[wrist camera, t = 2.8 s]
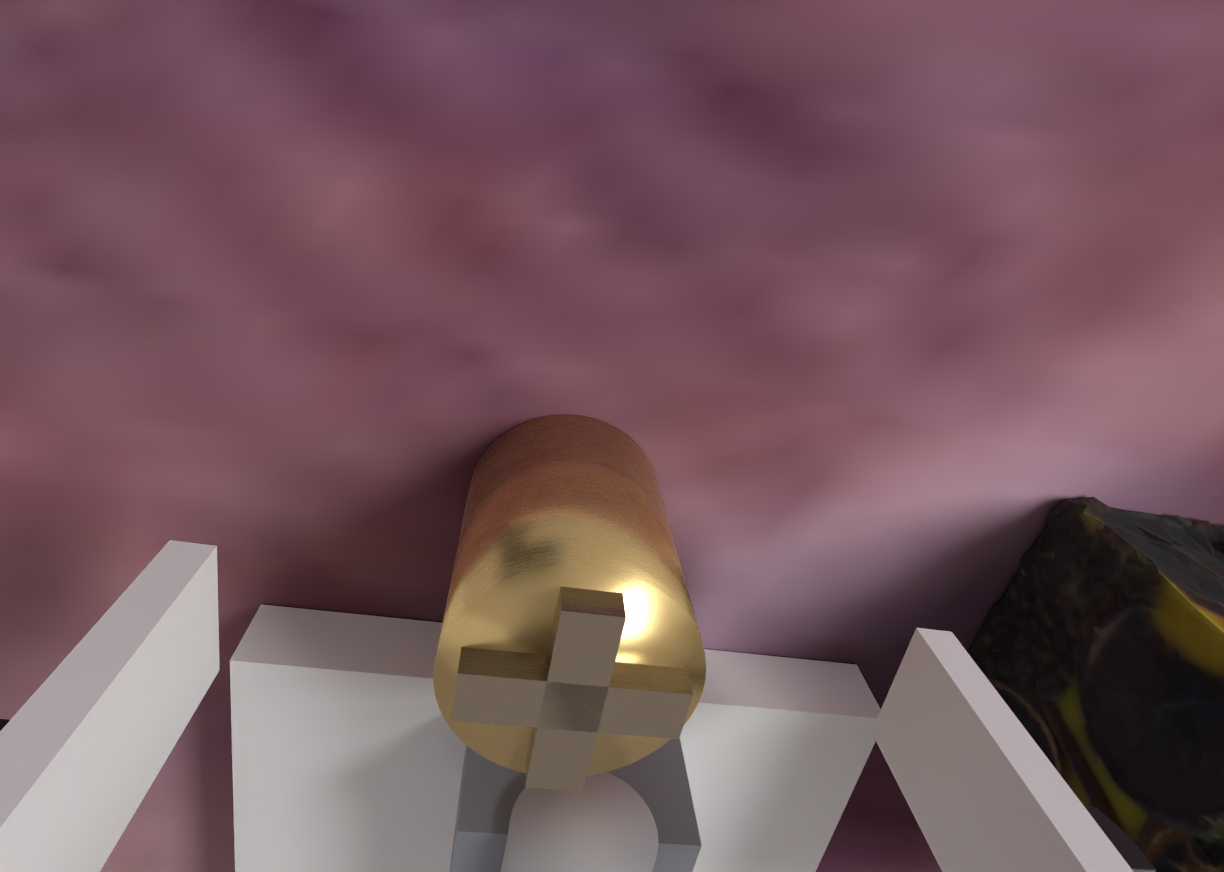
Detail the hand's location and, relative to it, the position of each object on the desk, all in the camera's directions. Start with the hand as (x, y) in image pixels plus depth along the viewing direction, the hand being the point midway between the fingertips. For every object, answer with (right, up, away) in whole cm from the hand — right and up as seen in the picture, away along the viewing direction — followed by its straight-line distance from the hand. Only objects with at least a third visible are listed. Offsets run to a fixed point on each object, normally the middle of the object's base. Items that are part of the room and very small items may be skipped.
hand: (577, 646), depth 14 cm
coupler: (0, +2, +4) cm, 5 cm away
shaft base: (-2, -10, +10) cm, 14 cm away
